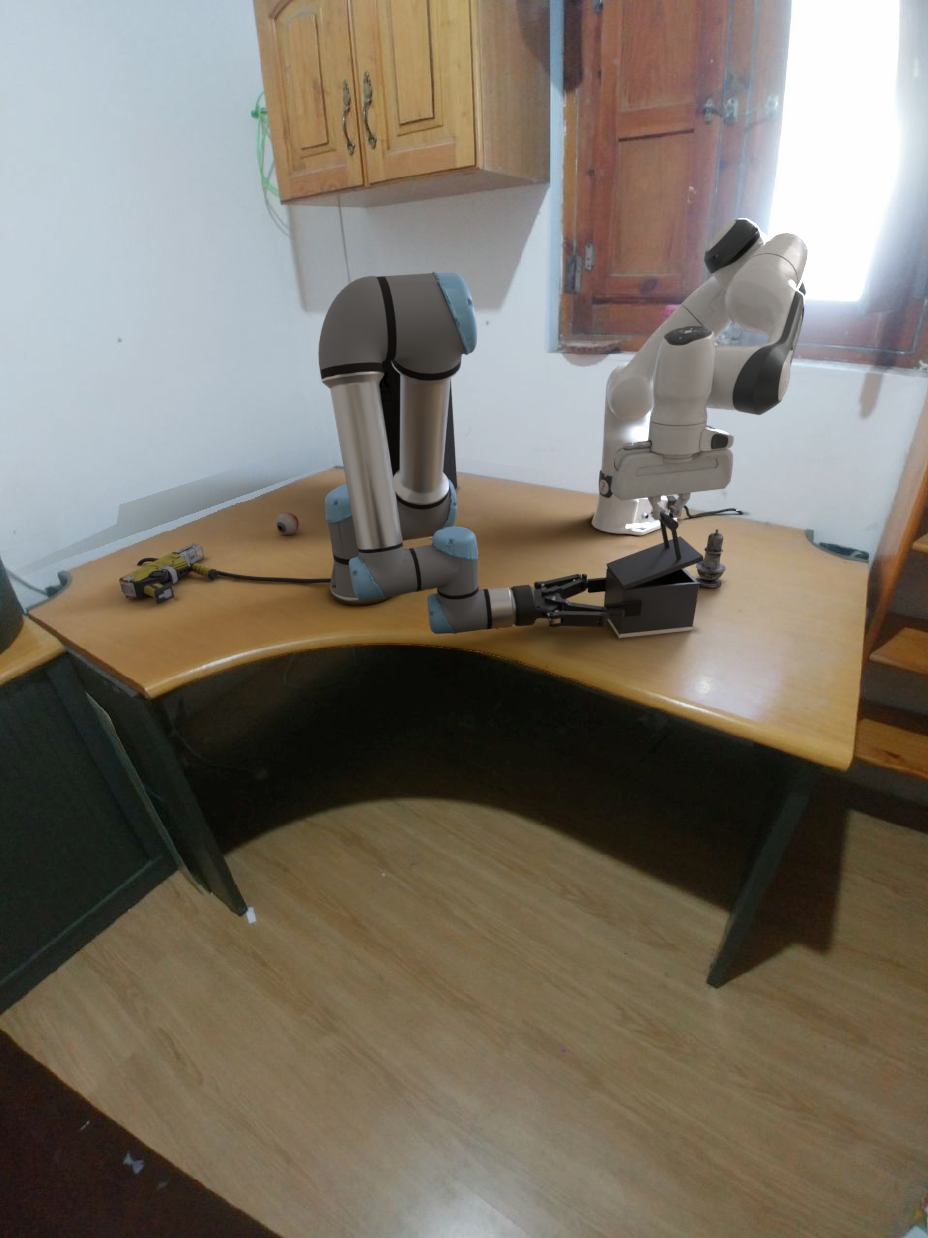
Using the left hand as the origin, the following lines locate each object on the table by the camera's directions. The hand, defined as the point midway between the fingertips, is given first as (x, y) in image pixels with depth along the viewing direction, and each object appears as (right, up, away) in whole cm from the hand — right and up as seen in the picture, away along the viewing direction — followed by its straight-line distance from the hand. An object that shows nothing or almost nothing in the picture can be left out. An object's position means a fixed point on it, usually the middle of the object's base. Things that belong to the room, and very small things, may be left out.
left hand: (630, 594), depth 112 cm
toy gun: (-97, +4, +30) cm, 102 cm away
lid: (+4, +5, -3) cm, 7 cm away
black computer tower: (-47, +29, +67) cm, 87 cm away
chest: (+4, -5, +3) cm, 7 cm away
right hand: (+4, +13, -7) cm, 16 cm away
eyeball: (-79, +19, +53) cm, 97 cm away
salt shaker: (+21, +3, +16) cm, 26 cm away
